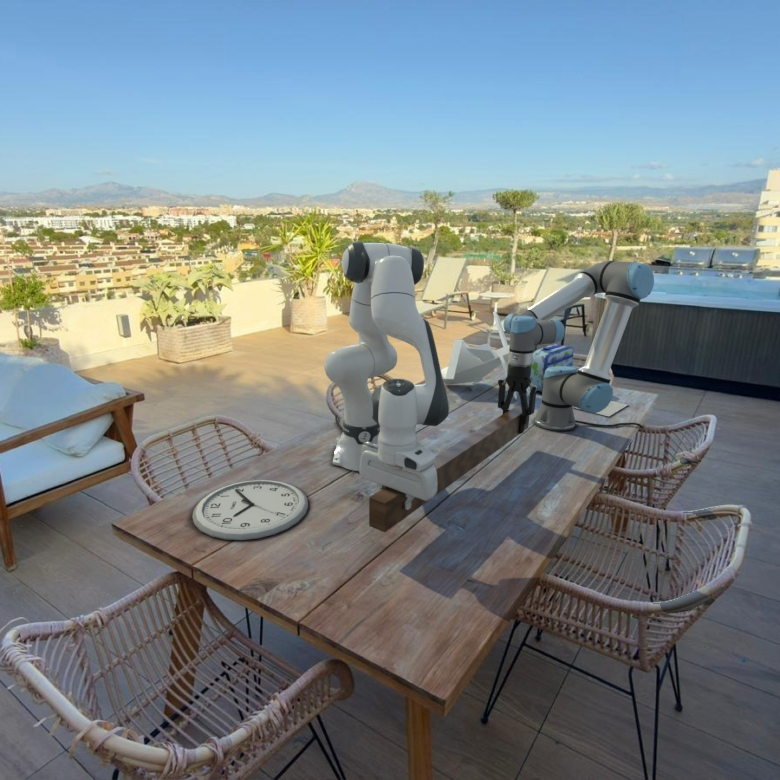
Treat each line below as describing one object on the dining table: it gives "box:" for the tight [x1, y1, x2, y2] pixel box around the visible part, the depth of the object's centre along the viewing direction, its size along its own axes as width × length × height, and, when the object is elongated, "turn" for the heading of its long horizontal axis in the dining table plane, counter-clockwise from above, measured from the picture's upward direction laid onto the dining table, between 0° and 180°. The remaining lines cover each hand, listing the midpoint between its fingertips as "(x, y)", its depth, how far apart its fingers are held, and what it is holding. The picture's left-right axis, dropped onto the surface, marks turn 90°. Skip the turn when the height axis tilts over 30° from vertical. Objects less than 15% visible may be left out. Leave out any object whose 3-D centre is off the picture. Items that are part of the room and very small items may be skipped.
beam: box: [368, 404, 530, 533], centre depth 150 cm, size 83×5×7 cm, turn 144°
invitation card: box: [573, 400, 629, 418], centre depth 226 cm, size 21×1×15 cm
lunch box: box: [530, 344, 574, 393], centre depth 247 cm, size 26×11×21 cm, turn 134°
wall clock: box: [191, 479, 309, 541], centre depth 140 cm, size 30×2×30 cm
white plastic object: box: [440, 310, 530, 400], centre depth 245 cm, size 37×45×31 cm
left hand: (396, 504), depth 123 cm, fingers closed on beam, 4 cm apart
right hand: (513, 430), depth 177 cm, fingers closed on beam, 5 cm apart
